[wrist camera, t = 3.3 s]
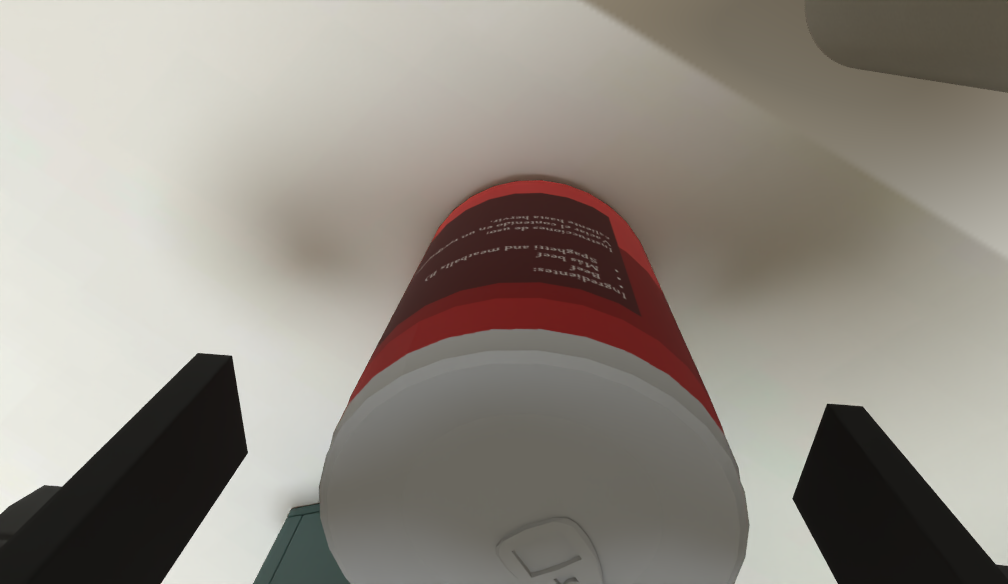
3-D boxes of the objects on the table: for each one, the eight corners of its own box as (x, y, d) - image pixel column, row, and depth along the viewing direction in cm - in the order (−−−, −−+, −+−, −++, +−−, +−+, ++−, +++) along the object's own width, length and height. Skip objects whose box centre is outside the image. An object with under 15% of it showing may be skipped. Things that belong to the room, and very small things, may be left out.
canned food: (542, 414, 23) (540, 725, 13) (380, 283, 21) (228, 530, 11) (698, 286, 20) (854, 553, 10) (530, 121, 18) (512, 248, 8)
